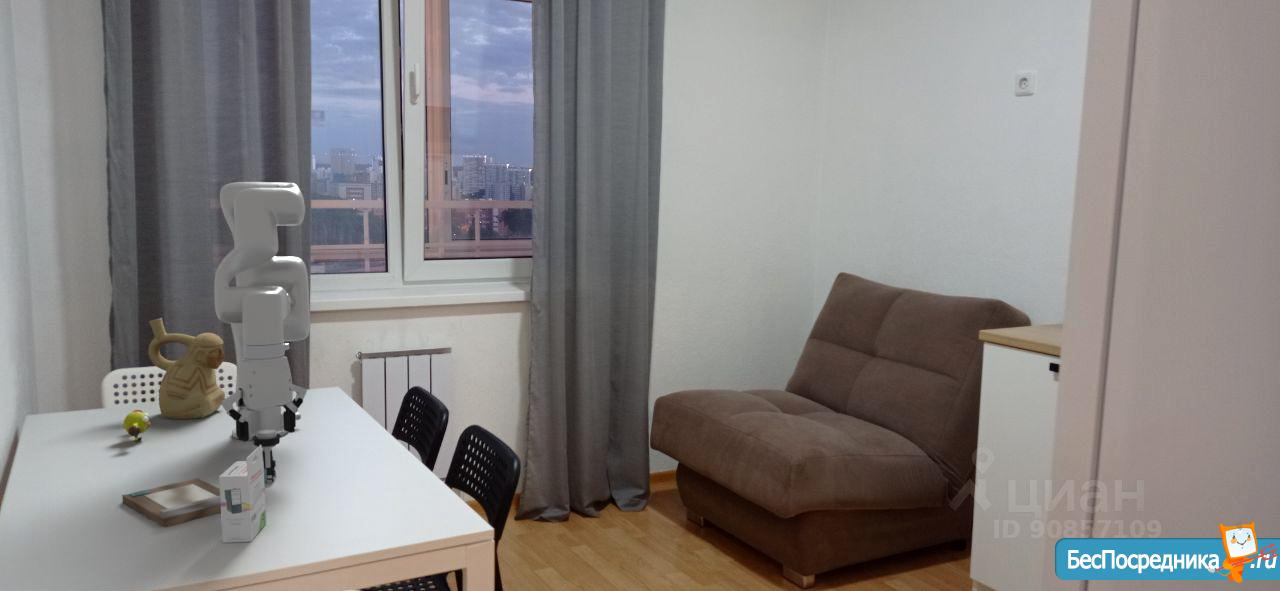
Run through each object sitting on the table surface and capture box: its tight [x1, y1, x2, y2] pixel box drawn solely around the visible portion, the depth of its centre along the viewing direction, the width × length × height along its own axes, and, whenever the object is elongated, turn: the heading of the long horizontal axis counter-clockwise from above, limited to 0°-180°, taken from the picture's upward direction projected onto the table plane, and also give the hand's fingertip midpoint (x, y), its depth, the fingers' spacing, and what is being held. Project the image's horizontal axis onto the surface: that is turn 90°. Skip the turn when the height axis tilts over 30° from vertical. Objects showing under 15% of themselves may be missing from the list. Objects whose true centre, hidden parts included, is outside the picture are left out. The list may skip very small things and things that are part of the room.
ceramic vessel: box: [147, 317, 226, 420], centre depth 238 cm, size 17×20×25 cm
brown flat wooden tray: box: [122, 477, 221, 528], centre depth 173 cm, size 14×18×3 cm
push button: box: [252, 429, 282, 484], centre depth 188 cm, size 7×5×10 cm
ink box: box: [218, 445, 267, 544], centre depth 159 cm, size 9×5×15 cm, turn 5°
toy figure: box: [123, 409, 152, 442], centre depth 215 cm, size 18×6×7 cm, turn 26°
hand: (266, 435), depth 187 cm, fingers open, 9 cm apart
